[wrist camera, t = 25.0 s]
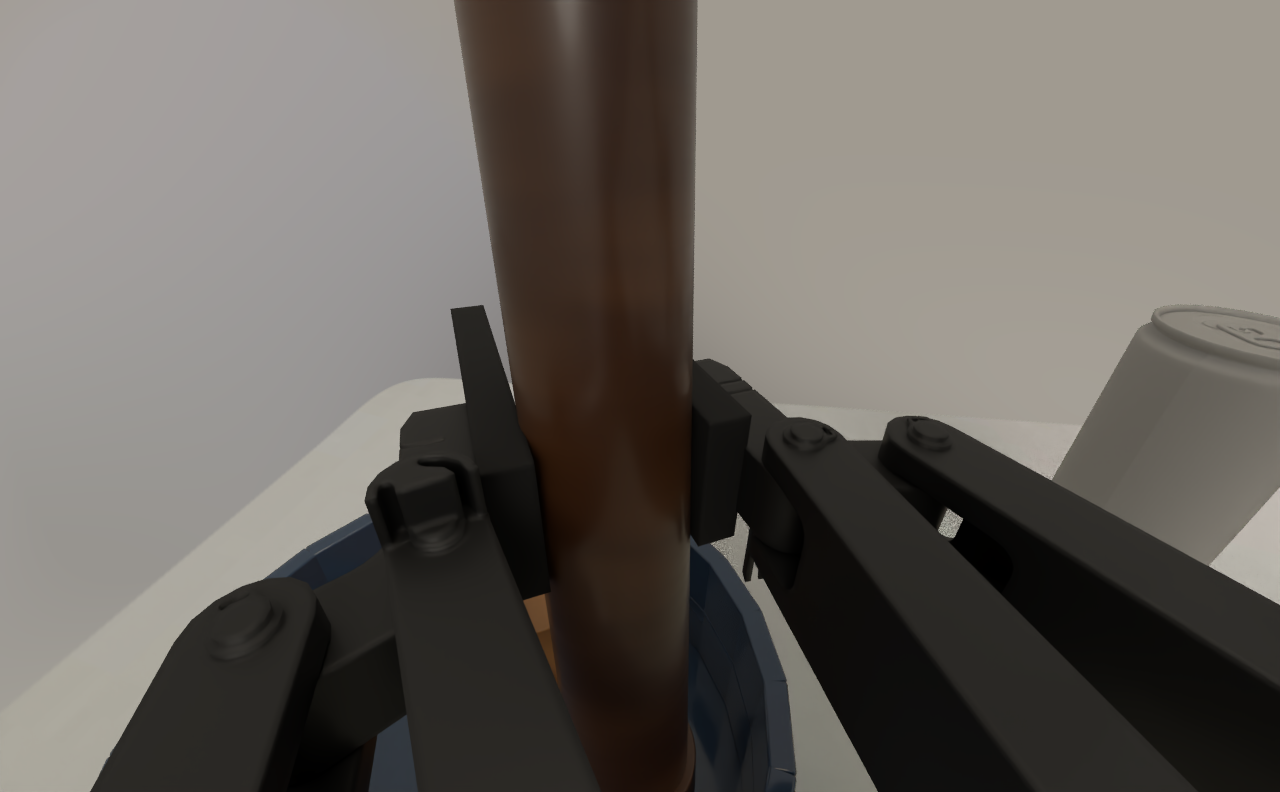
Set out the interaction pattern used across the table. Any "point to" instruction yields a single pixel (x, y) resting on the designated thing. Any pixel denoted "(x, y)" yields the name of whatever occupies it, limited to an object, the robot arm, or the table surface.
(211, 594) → the table surface
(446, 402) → the table surface
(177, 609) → the table surface
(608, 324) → the muddler
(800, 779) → the table surface
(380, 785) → the bowl
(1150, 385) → the beverage can
